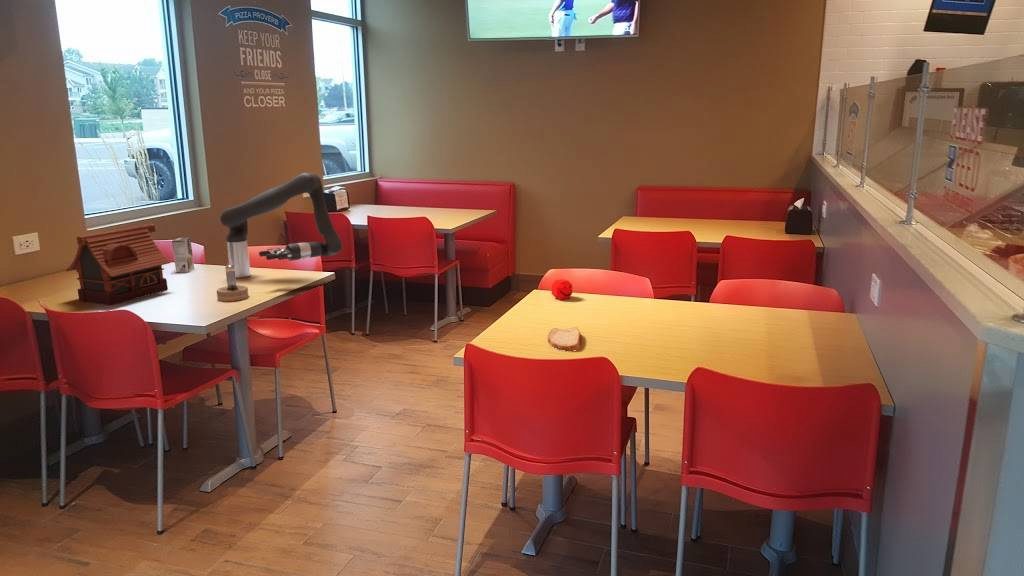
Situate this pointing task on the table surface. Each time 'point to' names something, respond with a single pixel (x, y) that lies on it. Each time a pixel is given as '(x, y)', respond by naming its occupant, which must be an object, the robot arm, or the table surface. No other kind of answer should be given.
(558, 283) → the ball
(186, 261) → the coffee box
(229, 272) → the grey tall cylinder
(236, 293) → the bead
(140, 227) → the house
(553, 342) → the bread slice
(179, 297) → the table surface
